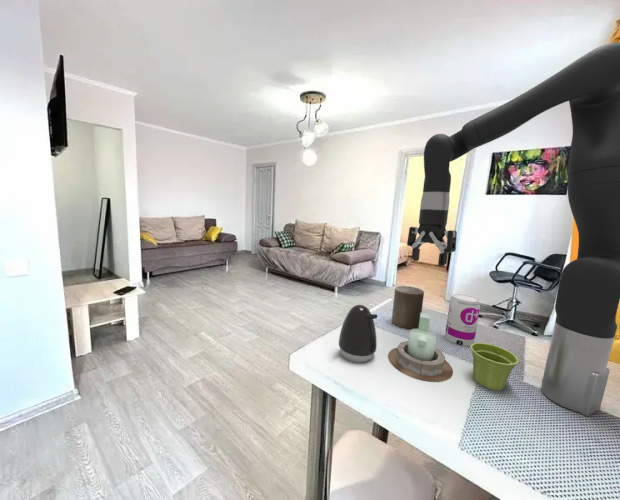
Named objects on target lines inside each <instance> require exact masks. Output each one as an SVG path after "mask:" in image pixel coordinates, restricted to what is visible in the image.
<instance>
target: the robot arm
mask: <svg viewBox="0 0 620 500" xmlns="http://www.w3.org/2000/svg"><path fill="white" fill-rule="evenodd" d="M567 102H569V108H570V109H569V110H570V113H571V114H570V115H571V126H572V136H571V142H570V149H569V155H568V156H569V157H568V165H567V198H568V203H569V207H570V210H571V214H572V216H573V219H574V222H575V225H576V228H577V232H578V234H577V235H578V247H577V257H576V259H574V260H572V261H570V262H569V263H568V264H566V266H564V268H563V269H562V270H561V271H562V272H561V274H560V278H559V282H558V287H557V293H556V297H555V298H556V299H555V303H554V310H555V314H556V317H555V321H554V324H553V325H554V326H553V328H552V329H553V331H552V334H551V337H550V338H551V339H550V343H549V348H548V353H547V357H546V362H545V367H544V372H543V376H542V379H541V386H540V391H541V393H542V394H543V395H544V396H545V397H546V398H547V399H549V400H551V401H552V402H554V403H555V404H557V405H559V406H561V407H564V408H566V409H569V410H571V411H573V412H577V413H580V414H583V415H585V416H587V417H588V416H591V415H592V414H594V413H595V412H596V411H598V410H600V409H601V407H602V403H603V400H604V394H605V391H606V387H607V384H608V379H609V375H610V373H611V372H610V371H611V370H610V368H609V367H608V364H609V360H610V356H611V352H612V347H613V343H614V340H615V337H616V334H617V329H618V325H617V323H616V322H617V321H616V320H617V319H616V318H617V312H618V309H619V304H620V41H618V42H617V41H616V42H610V43H607V44H606V43H605V44H603V45H600V46H598V47H596V48H594V49H593V50H590V51H589V52H587V53H586V54H584V55H582V56H581V57H579V58H577V59H576V60H575V61H573V62H571V63H570V64H568V65H567V66H565V67H564V68H562V69H561V70H559V71H558V72H557V73H555V74H553V75H551V76H550V77H548V78H547V79H545V80H543V81H542V82H540V83H538V84H536V85H535V86H534V87H532V88H529V90H527V91H525V92H524V93H521V94H520V95H518V96H516V97H514V98H513V99H511V100H509V101H507V102H505V103H503V104H501V105H500V106H498V107H497V106H496V108H493V109H491V110H489V111H487V112H485V113H484V114H482V115H480V116H477V117H476V118H474V119H471V120H469V121H468V122H467V123H465V124H464V125H463V126H462V128H461V129H460V130H458V131H457V132H455V133H453V134H452V135H450V136H448V135H447V134H445V133H436V134H433V135H432V136H431V137H429V139H428V140H427V142H426V143H425V146H424V150H423V172H424V180H423V189H422V196H421V198H420V199H421V200H420V207H419V217H418V223H419V224H418V225H419V226H418V227H417V226H409V229H408V235H407V236H408V237H407V242H406V244H407V245H406V246H409V247H411V248H412V249H411V250H412V252H411V259H412V262H413V261H414V262H419V260H420V252H421V246H422V245H424V244H425V243H426V244H427V243H428V244H433V245H435V246H436V248H437V249H438V251H439V254H438V262H437V266H438V267H444V266H445V265H447V262H448V254H450V253H454V252H456V249H457V235H458V232H457V230H453V229H452V230H450V229H449V230H447V229H446V226H447V224H448V215H449V207H450V191H451V186H452V184H451V183H452V175H451V173H450V163H451V162H454V161H455V160H457V159H459V158H461V157H462V156H464V155H466V154H467V153H470V152H471V151H473V150H474V149H476V148H479V147H481V146H483V145H486V144H489V143H490V142H493V141H496V140H498V139H499V138H503V137H504V136H506V135H508V134H510V133H511V132H513V131H514V130H516V129H519V128H520V127H522V126H523V125H524V124H526V123H528V122H529V121H531V120H532V119H533V118H536V117H537V116H539V115H540V114H543V113H544V112H546V111H548V110H550V109H552V108H555V107H557V106H560V105H562V104H563V103H567ZM417 234H418V237H417ZM444 238H446V240H445V239H444Z"/></svg>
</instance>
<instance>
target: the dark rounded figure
mask: <svg viewBox="0 0 620 500" xmlns="http://www.w3.org/2000/svg"><path fill="white" fill-rule="evenodd" d="M377 318H378V315H377V314H376V313H375V314H374V313H372V312H371V311H370V309H369V308H368V307H367V306H365V305H363V304H357V305H354V306H352V307H351V308H350V310H349V311H348V312H347V314H346V316H345V318H344V321H343V323H342V325H341V329H340V333H339V337H338V347H339V349H340V353H341V355H342V356H343V357H344V358H345V359H346V360H348V361H351V362H354V363H366V362H368V361H370V360H371V359H372V357H373V356H374V355H375V353H376V351H377V348H378V347H377V346H378V345H377V343H378V341H377V331H376V325H375V321H374V319H376V320H377Z"/></svg>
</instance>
